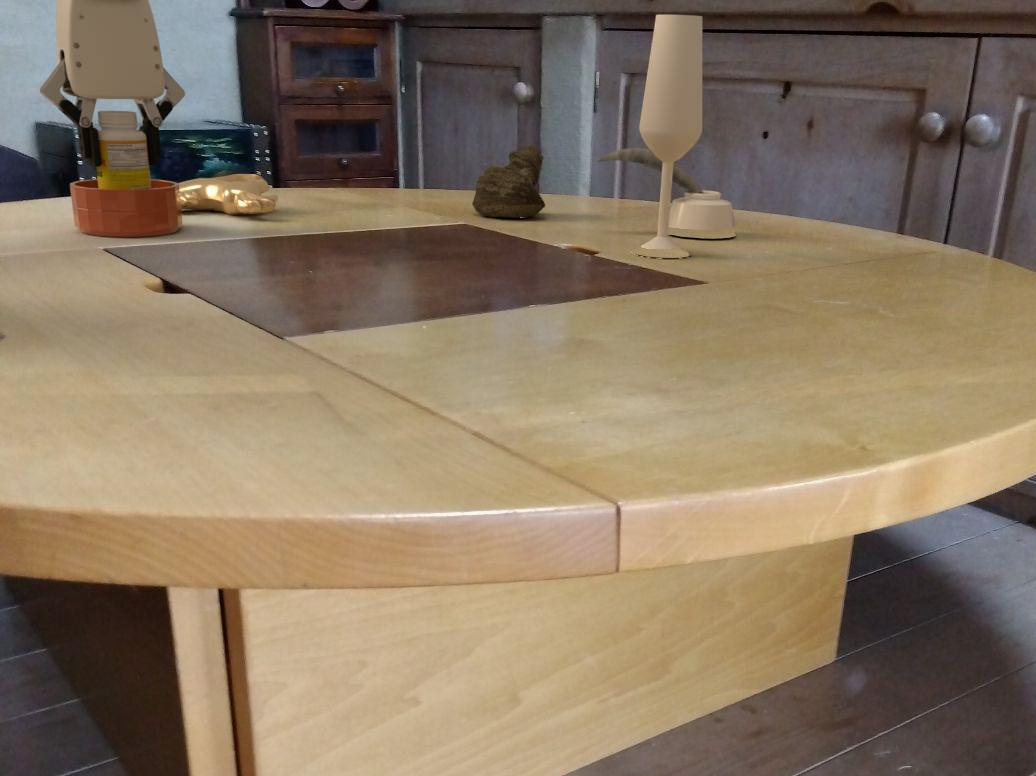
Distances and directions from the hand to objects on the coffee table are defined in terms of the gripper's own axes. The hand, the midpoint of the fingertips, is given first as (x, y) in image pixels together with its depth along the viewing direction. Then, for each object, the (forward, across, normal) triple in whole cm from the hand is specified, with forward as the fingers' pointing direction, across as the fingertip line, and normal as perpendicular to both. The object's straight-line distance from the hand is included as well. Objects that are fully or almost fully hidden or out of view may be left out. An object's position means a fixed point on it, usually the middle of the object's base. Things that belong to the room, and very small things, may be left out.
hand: (122, 163), depth 124 cm
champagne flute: (+7, -46, +39) cm, 60 cm away
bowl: (+7, 0, 0) cm, 7 cm away
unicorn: (+7, -15, -10) cm, 19 cm away
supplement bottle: (+5, 0, 0) cm, 5 cm away
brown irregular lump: (+7, -47, +6) cm, 48 cm away
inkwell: (+7, -57, +28) cm, 64 cm away
